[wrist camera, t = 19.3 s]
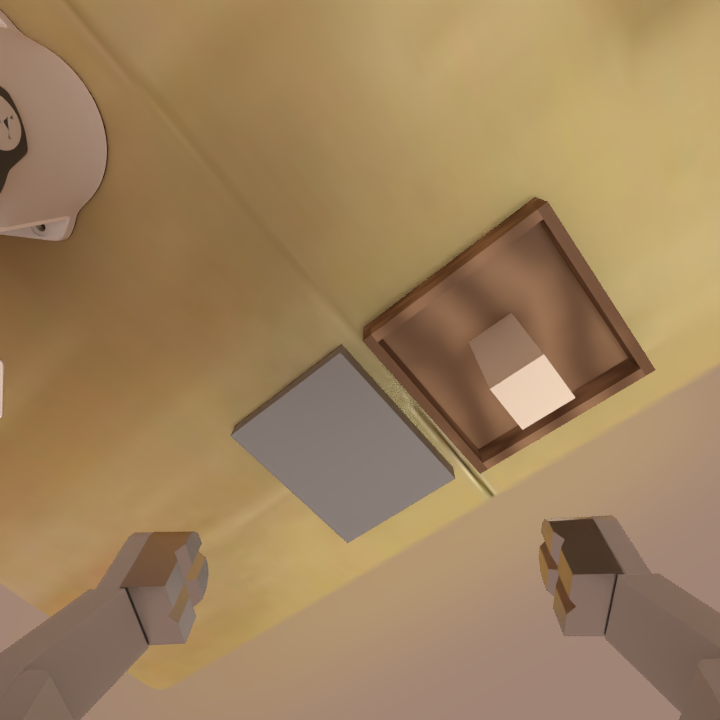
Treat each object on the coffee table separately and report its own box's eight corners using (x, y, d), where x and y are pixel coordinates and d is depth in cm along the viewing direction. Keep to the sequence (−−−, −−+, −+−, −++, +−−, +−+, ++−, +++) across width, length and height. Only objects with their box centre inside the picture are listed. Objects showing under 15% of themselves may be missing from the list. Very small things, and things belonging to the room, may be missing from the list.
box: (474, 454, 55) (480, 473, 51) (364, 327, 49) (363, 340, 45) (637, 355, 49) (655, 369, 46) (535, 197, 43) (547, 201, 40)
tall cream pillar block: (495, 376, 49) (522, 429, 40) (468, 342, 48) (489, 389, 39) (538, 349, 48) (575, 397, 39) (511, 312, 46) (543, 354, 37)
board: (348, 531, 60) (347, 543, 58) (235, 425, 54) (230, 435, 52) (452, 467, 56) (455, 478, 54) (341, 344, 49) (340, 352, 48)
